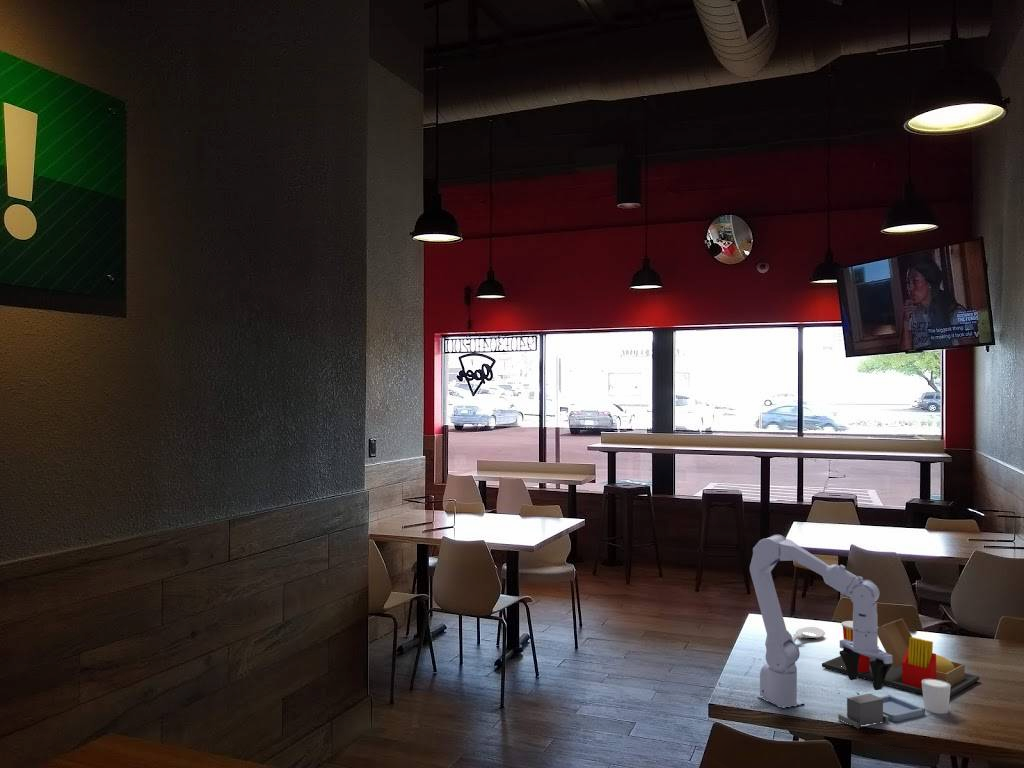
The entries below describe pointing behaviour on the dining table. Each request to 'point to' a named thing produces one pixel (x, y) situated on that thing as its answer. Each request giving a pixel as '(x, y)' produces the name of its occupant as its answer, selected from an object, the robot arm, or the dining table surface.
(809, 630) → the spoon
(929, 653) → the fast food meal
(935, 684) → the white cup
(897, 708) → the tray
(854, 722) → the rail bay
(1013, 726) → the dining table surface
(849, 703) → the grey bar
